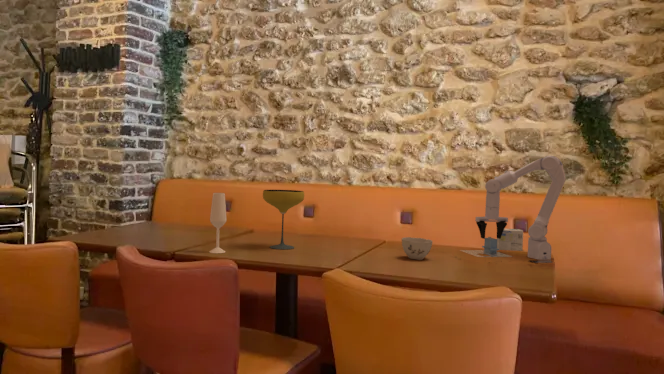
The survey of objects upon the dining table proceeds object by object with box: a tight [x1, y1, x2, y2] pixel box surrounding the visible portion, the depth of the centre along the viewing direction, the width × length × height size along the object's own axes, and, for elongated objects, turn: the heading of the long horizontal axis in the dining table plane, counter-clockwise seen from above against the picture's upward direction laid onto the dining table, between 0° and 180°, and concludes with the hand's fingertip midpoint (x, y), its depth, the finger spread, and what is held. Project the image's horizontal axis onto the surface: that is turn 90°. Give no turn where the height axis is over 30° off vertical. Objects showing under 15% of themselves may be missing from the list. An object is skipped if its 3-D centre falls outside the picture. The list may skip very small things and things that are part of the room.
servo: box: [481, 236, 500, 253], centre depth 234 cm, size 9×3×6 cm, turn 13°
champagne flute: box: [209, 192, 228, 254], centre depth 219 cm, size 7×7×24 cm
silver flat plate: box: [459, 249, 514, 258], centre depth 230 cm, size 17×16×2 cm
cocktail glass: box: [262, 189, 305, 250], centre depth 236 cm, size 18×18×25 cm
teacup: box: [401, 236, 433, 261], centre depth 221 cm, size 15×12×8 cm
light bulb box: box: [496, 228, 524, 252], centre depth 245 cm, size 11×7×11 cm, turn 84°
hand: (490, 238), depth 234 cm, fingers open, 7 cm apart
